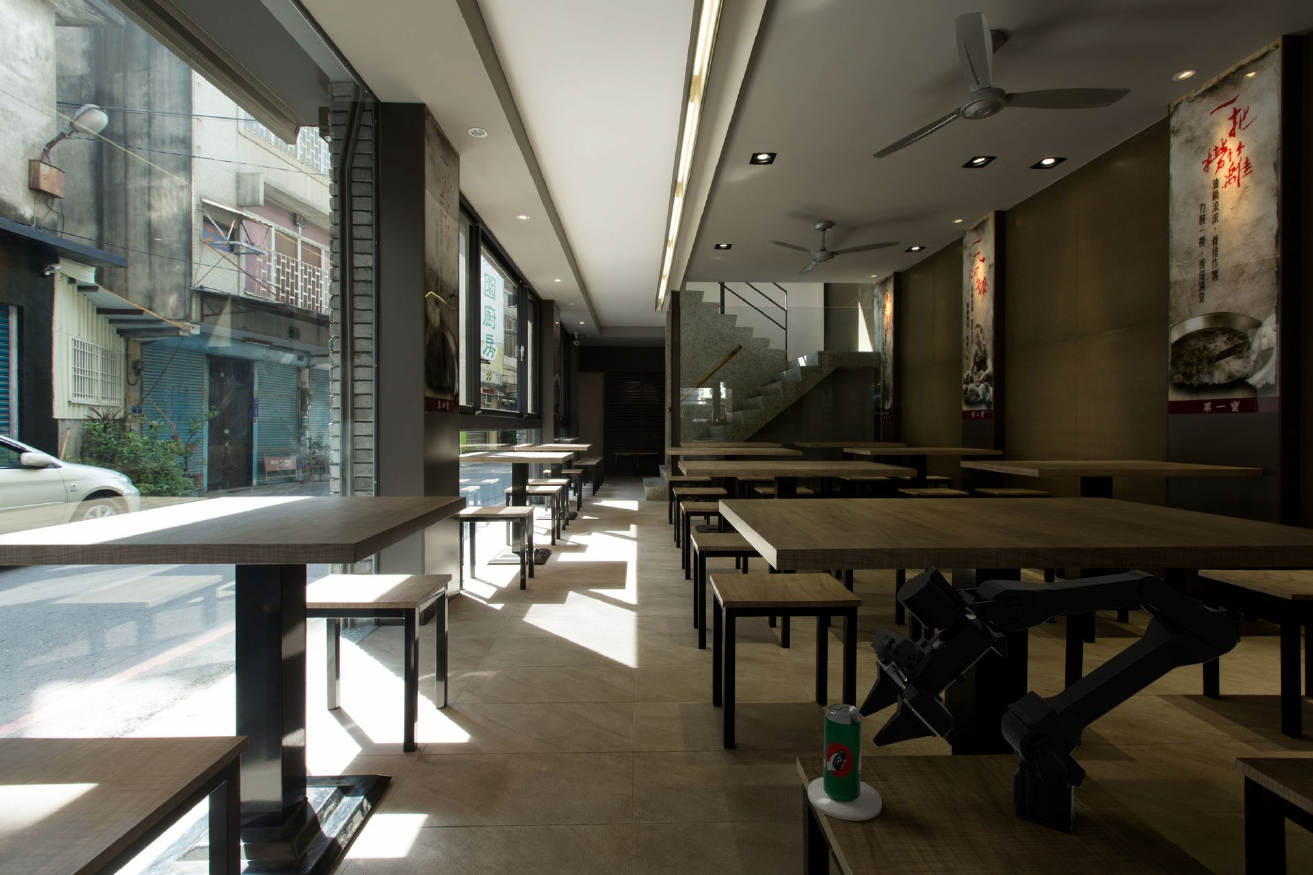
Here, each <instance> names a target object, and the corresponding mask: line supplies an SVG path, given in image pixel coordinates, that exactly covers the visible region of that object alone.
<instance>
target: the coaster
mask: <svg viewBox="0 0 1313 875" xmlns="http://www.w3.org/2000/svg"><path fill="white" fill-rule="evenodd" d="M807 798H808V800H809V802H810V804H811V805H812V806H813V807H814V808H815V809H816V810H818V811H819V812H821V813H823V814H825V815H827V816H829V817H832V818H835V819H839V820H843V821H851V822H862V821H869V820H871V819H874V818H876V817H877V816H878V815H880V813H881V812H882V807H883V805H882V803H883V800H882V797H881V795H880V793H879V792H878V791H877V789H875V788H874V787H873V786H871V785H869V784H868V783H867V782H864V781H861V787H860V796H859V797H858V798H857V799H856V800H854V801H852V802H840V801H836V800H834V799H832V798H830V797H829V796H828V795H827V794H826V793H825V791H824V789H823V776H822V777H817V778H816V779H814V780H812V781H811V782H810V784H808V787H807Z"/></svg>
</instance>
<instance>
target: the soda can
mask: <svg viewBox="0 0 1313 875" xmlns="http://www.w3.org/2000/svg"><path fill="white" fill-rule="evenodd" d="M859 710H860V709H858V708H857V707H855V706H853V705H851V704H847V703H832V704H830V705H828V706H827V710H826V711H825V713H824V726H823V727H824V729H823V732H824V733H823V774H822V775H823V776H822V777H823V789H824V791H825V793H826V794H827V795H828V796H829V797H830V798H832V799H834V800H836V801H840V802H852V801H854V800H856V799H857V798H858V797H859V796H860V787H861V780H862V779H861V778H862V777H861V776H862V738H863V737H862V736H863V735H862V733H863V719H862V717H861V714H860V713H859Z"/></svg>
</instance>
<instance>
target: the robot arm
mask: <svg viewBox="0 0 1313 875" xmlns="http://www.w3.org/2000/svg"><path fill="white" fill-rule="evenodd" d="M896 599H897V601H898V602H900V604H901V605H903V607H904V608H905V609H906V610H908V612H909V613H910V614H911V615H912V616H913V617H914V618H915V619H916V620H917V621H919V623H920V624H921V625H922V626H923V627H924V628H925V629H926V630H929V631H931V630H936V629H937V630H938V631H939V632H937V634H936V635H934V636H933V637H932V638H931V639H930V640H928V639H927V638H926V637H924V638H923V637H921V638H919V639H918V640H917V641H916V642H914V641H913V640H912V639H910V638H906V637H905V636H904V635H902V634H898V633H897V632H894V631H892V630H890V629H888V628H886V627H883V626H879V627H878V630H877V631H876V633H875V636H874V637H873V639H872V642H871V644H870V648H873V650H874V654H875V655H876V658H877V659H878V661H877V660H876V661H875V666H876V679H875V681H874V683H873V685H872V687H871V689H870V691H869V693H868V694H867V696H866V697H865V700H864V701H863V703H862V705H861V706H860V708H859V709H858V710H859V715H860V716H862V717H863V718H866V717H869V716H871V715H874V714H875V713H879V712H881V711H882V710H885V709H886V708H888V707H891V706H893V705H895V704H896V703H897V704H896V706H897V707H896V710H895V711H894V713H893V714H892V715H891V717H890V718H889V719H888V720H886V723H884V725H882V727H881V729H879V731H878V732H877V733H876V735H875V736H874V737H873V739H872V742H873V743H874V744H875V746H877V747H879V748H881V747H884V746H888V745H889V746H890V745H892V744H897V743H901V742H906V741H909V740H910V741H911V740H916V739H921V738H925V737H932V738H933V739H935V738H936V737H938V735H939V736H940V737H941V738H942V739H945V737H947V736H948V735H949V734H950V733H951V732H952V731H953V730H955V718H954V717H953V716H952V714H951V713H950V712H949V710H948V709H947V708H946V706H944V704H942V703H943V701H944V699H943V697H942V696H941V694H942V693H943V692H945V690H947V688H949V687H950V686H952V684H954V682H956V681H957V682H958V683H959V684H960V685H962V684H963V683H964V682H965V681H966V680H967V678H966V677H965V676H964V675H963V674H964V673H966V672H967V671H968V670H969V668H971V667H972V666H973V665H975V663H977V661H979V660H980V659H981V658H982V657H983V656H984V655H985V654H986V653H988V652H989V650H991V649H992V650H993V651H994V652H996V653H997V654H998V655H999V656H1001V657H1002V658H1003V659H1007V658H1008V656H1009V653H1008V648H1007V647H1008V646H1007V642H1008V637H1007V636H1006V635H1005V634H1003V633H1002V632H994V631H993V630H992V629H991V628H990V627H989V626H988V625H987V624H986V623H985V622H984V621H983V620H985V621H988V622H990V623H991V624H992V625H994V626H995V627H997V628H998V629H1000V630H1002V631H1004V632H1006V633H1007V632H1008V633H1016V632H1021V631H1024V630H1027V629H1032V628H1034V627H1035V628H1036V627H1037V626H1041V625H1042V624H1044V623H1045V622H1047V621H1048V620H1050V619H1053V618H1056V617H1059V616H1066V615H1073V614H1074V615H1075V614H1082V613H1090V612H1100V611H1107V610H1116V609H1123V608H1131V607H1140V608H1142V609H1143V610H1144V611H1145V612H1147V613H1148V614H1149V615H1151V618H1150V620H1149V621H1148V624H1147V626H1146V629H1145V631H1144V633H1143V635H1142V637H1141V638H1139V639H1138V640H1137V641H1135V642H1134V643H1132V644H1131V645H1130V646H1128V647H1126V648H1125V649H1123V650H1122V651H1120V652H1118V653H1117V654H1116V655H1114V656H1113V657H1111V658H1110V659H1108V660H1106V661H1105V662H1104V663H1102V664H1101V665H1099V666H1098V667H1096V668H1095V669H1093V670H1092V671H1091V672H1089V673H1087V674H1086V675H1085V676H1082V677H1081V678H1080V679H1079V680H1077V681H1076V682H1073V683H1071V685H1069V686H1067V688H1065V689H1064V690H1062V691H1060V692H1059V693H1057V694H1056V695H1053V696H1046V697H1042V696H1041V695H1040V694H1038V693H1037V692H1036V691H1034V690H1031V691H1028V692H1026V693H1025V695H1023V696H1022V697H1021V698H1020V699H1019V700H1016V701H1015V702H1012V703H1008V704H1007V707H1008V708H1009V709H1008V710H1007V711H1005V712H1004V713H1003V715H1002V717H1001V725H1000V728H1001V733H1002V735H1003V737H1004V739H1005V740H1006V741H1007V742H1008V744H1010V746H1011V747H1012V748H1013V750H1014V753H1015V754H1016V755H1017V756H1019V757H1020V758H1021V760H1020V763H1019V765H1018V767H1017V768H1016V770H1015V772H1014V775H1013V804H1014V805H1015V807H1016V808H1015V810H1014V811H1015V813H1014V815H1016V816H1017V817H1020V818H1023V819H1026V820H1029V821H1032V822H1035V823H1038V824H1041V825H1045V826H1047V827H1051V828H1054V829H1058V830H1060V831H1063V832H1067V833H1071V832H1072V830H1073V825H1074V824H1073V823H1074V819H1075V815H1076V808H1075V807H1074V801H1075V800H1074V799H1075V798H1074V796H1075V787H1081V786H1082V783H1083V781H1084V779H1085V776H1086V770H1085V769H1084V768H1083V767H1082V766H1081V765H1080V764H1079V763H1078V762H1077V761H1076V760H1075V759H1074V758H1073V757H1072V756H1071V755H1070V754H1072V752H1074V751H1075V749H1076V748H1077V746H1078V744H1079V741H1080V740H1081V736H1082V735H1083V732H1084V730H1085V729H1086V728H1087V727H1088V726H1090V725H1092V723H1094V722H1095V721H1098V720H1099V719H1101V718H1102V717H1104V715H1106V714H1108V713H1109V712H1111V711H1113V710H1114V709H1115V708H1117V707H1119V706H1120V705H1122V704H1123V703H1124V702H1126V701H1127V700H1129V699H1130V698H1132V697H1133V696H1136V695H1137V694H1138V693H1140V692H1141V691H1143V690H1144V689H1145V688H1147V687H1149V686H1150V685H1152V684H1153V683H1155V682H1157V681H1158V680H1159V679H1161V678H1162V677H1164V676H1166V675H1167V674H1169V673H1170V672H1171V671H1173V670H1175V669H1176V668H1177V669H1178V668H1181V667H1187V666H1194V665H1201V664H1204V663H1207V662H1211V661H1213V660H1216V659H1217V658H1219V657H1222V656H1224V655H1226V654H1228V653H1230V652H1231V651H1232V650H1233V649H1234V648H1236V647H1237V645H1238V644H1239V640H1238V636H1239V632H1238V626H1237V624H1236V622H1235V620H1234V619H1233V618H1232V617H1231V616H1229V614H1226V613H1225V612H1222V611H1220V610H1217V609H1214V608H1211V607H1208V606H1206V605H1203V604H1201V603H1199V602H1197V601H1196V600H1194V599H1192V598H1191V597H1189V596H1188V595H1186V594H1184V593H1183V592H1181V591H1179V590H1177V589H1176V588H1174V587H1173V586H1172V585H1170V584H1169V583H1168V582H1166V581H1165V580H1164V579H1163V578H1162V577H1159V576H1157V575H1154V574H1151V573H1148V572H1146V571H1145V572H1144V571H1141V570H1140V569H1139V570H1137V569H1136V570H1135V569H1134V570H1130V571H1126V572H1124V573H1115V574H1108V575H1107V574H1106V575H1099V576H1091V577H1084V578H1076V579H1068V580H1062V581H1053V582H1044V583H1043V582H1042V583H1040V582H1036V583H1035V582H1028V581H1027V582H1026V581H1021V580H1008V579H1004V580H1003V579H989V580H985V581H983V582H982V583H980V584H979V586H978V587H969V588H961V589H956V588H955V587H954V586H953V585H951V583H950V582H948V580H947V579H946V577H945V576H944V574H942V572H941V571H940V570H939V569H937V568H936V567H933V566H931V567H930V568H929V569H928V570H927V571H923V572H921V573H918V574H917V575H915V576H914V577H910V578H908V579H907V580H906V581H905V582H904V583H903V584H902V586H901V587H900V589H898V592H897V594H896ZM964 609H966V611H969V612H970V613H971V614H973V615H974V616H975V617H976V618H970V617H968V615H967V614H966V613H965V612H963V610H964ZM879 662H880V663H879ZM904 687H905V688H904ZM937 734H938V735H937Z"/></svg>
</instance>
